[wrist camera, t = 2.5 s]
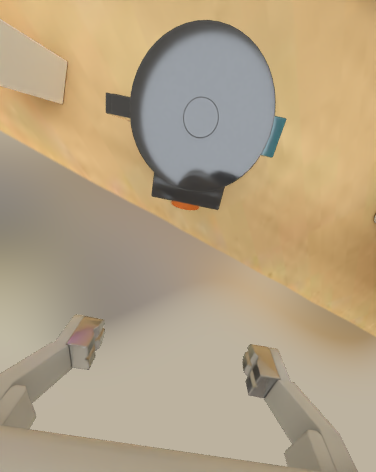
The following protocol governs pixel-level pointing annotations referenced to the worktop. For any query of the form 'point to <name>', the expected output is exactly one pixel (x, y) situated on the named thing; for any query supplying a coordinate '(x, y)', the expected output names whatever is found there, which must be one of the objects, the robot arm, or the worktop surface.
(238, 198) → the worktop surface
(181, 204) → the jug button
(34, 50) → the milk
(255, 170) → the worktop surface
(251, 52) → the jug
